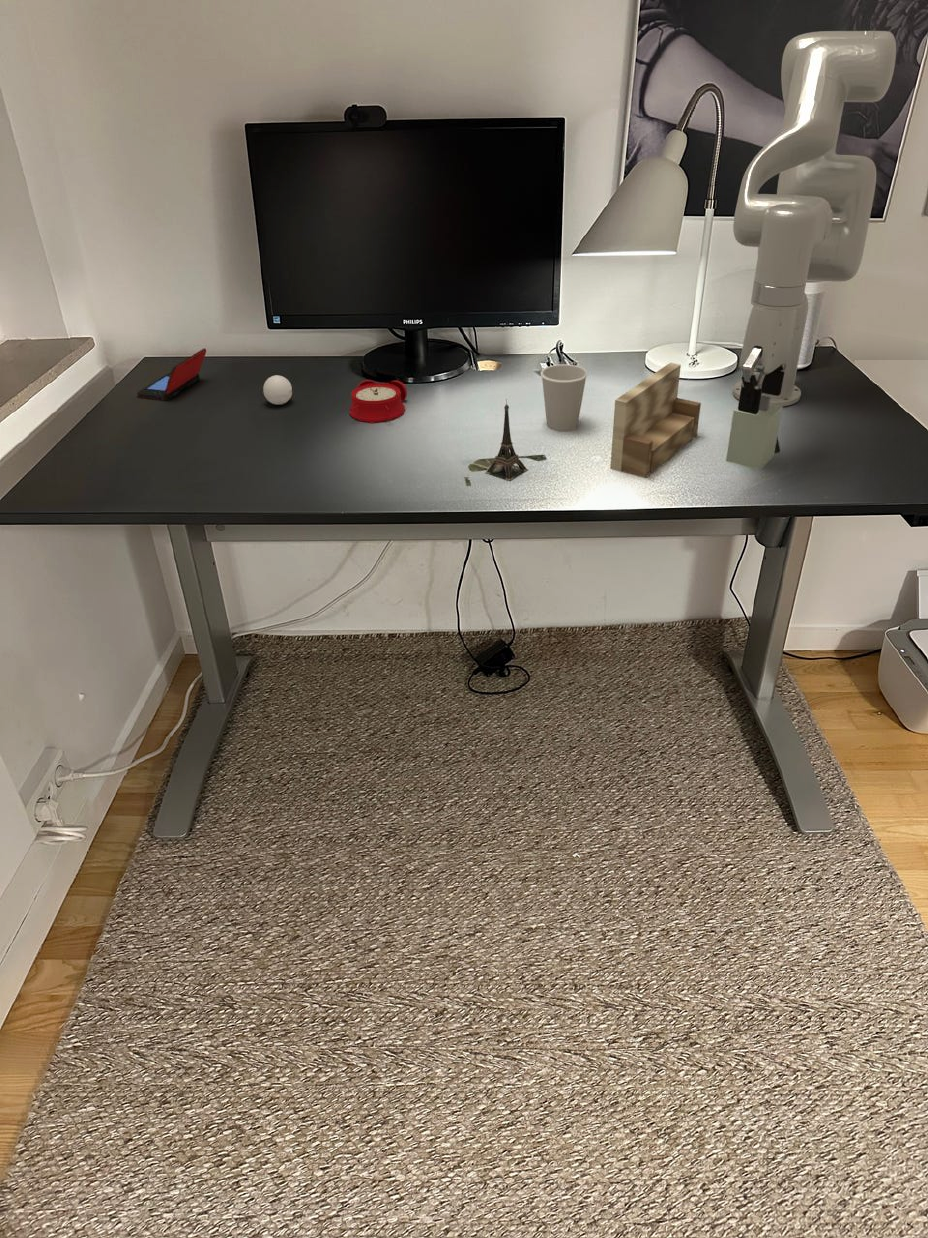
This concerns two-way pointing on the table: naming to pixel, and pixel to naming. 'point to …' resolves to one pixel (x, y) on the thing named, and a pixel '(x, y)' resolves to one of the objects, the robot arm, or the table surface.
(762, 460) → the cabinet box
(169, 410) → the table surface
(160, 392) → the handheld game console
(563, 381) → the dixie cup
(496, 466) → the eiffel tower figurine
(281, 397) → the white ball
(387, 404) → the alarm clock
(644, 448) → the brown toy sofa
